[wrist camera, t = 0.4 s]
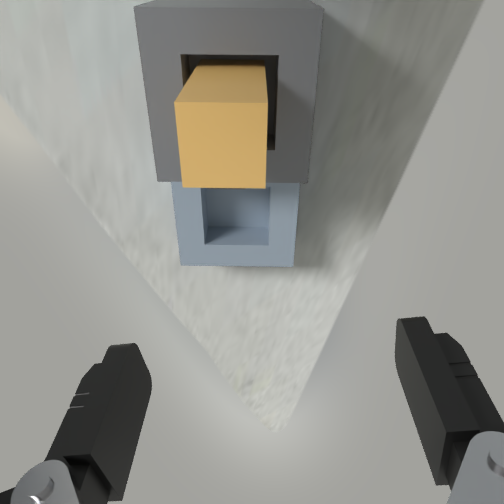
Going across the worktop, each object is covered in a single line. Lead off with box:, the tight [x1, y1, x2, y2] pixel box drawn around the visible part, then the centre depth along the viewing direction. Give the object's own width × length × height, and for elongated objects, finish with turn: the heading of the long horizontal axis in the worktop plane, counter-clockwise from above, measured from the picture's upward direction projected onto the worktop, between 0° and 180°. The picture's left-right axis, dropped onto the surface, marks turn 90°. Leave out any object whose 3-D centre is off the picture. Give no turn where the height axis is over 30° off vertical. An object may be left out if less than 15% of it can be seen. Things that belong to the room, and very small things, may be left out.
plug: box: [174, 59, 268, 189], centre depth 23 cm, size 5×4×10 cm
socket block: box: [134, 0, 324, 267], centre depth 30 cm, size 20×10×8 cm, turn 0°
